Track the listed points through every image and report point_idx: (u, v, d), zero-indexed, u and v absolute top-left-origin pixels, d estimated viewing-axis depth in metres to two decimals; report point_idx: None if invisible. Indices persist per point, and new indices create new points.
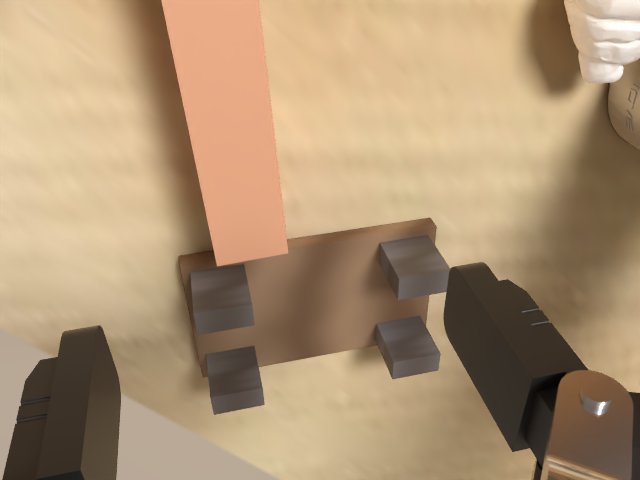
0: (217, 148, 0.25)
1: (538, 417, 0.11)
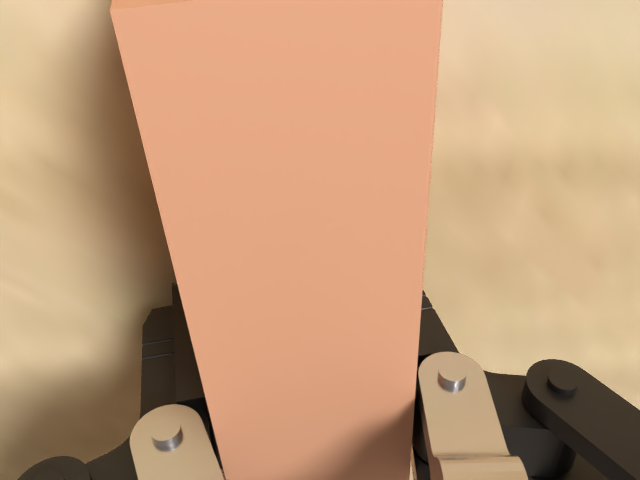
0: None
1: None
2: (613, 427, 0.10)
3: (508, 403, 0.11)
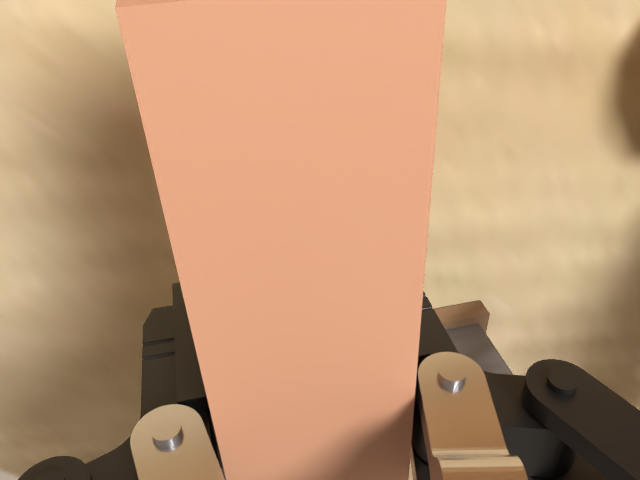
0: None
1: None
2: (613, 427, 0.10)
3: (508, 403, 0.11)
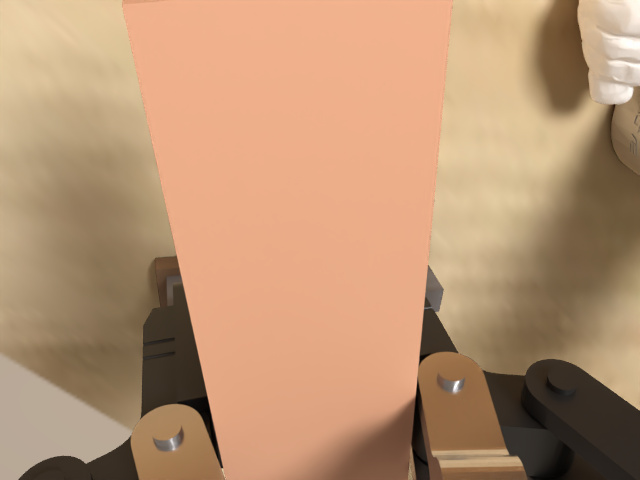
0: None
1: None
2: (612, 427, 0.10)
3: (507, 403, 0.11)
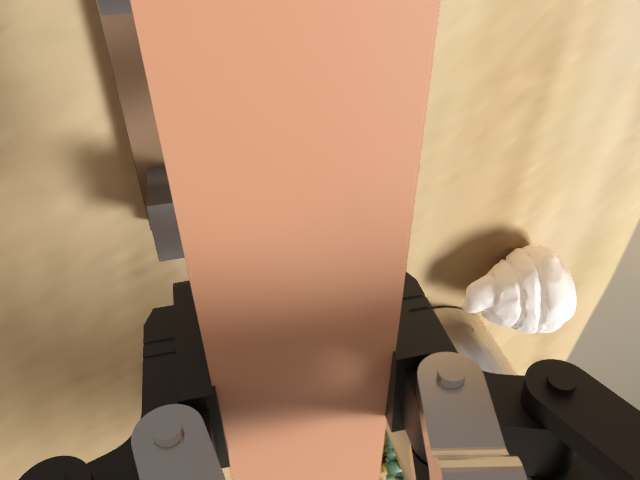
0: (275, 455, 0.13)
1: (406, 397, 0.12)
2: (612, 427, 0.10)
3: (507, 403, 0.11)
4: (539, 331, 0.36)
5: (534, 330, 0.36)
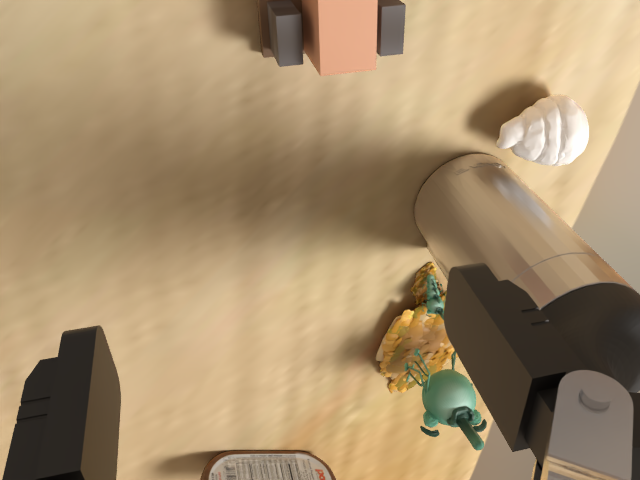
0: None
1: (538, 417, 0.11)
2: None
3: None
4: (559, 160, 0.45)
5: (555, 158, 0.45)
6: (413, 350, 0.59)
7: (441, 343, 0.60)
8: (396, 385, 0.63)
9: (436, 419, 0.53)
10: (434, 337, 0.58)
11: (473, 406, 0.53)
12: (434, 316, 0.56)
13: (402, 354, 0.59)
